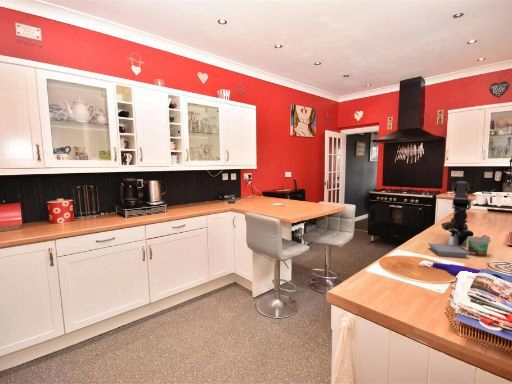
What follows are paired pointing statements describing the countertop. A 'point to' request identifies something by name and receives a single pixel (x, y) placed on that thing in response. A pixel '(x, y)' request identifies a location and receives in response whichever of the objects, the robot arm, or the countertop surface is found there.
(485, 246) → the food container
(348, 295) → the countertop surface
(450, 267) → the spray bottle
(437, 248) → the stand
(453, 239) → the housing
